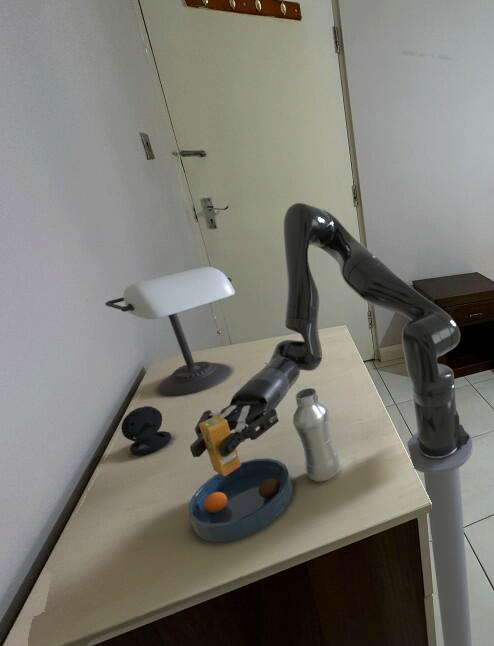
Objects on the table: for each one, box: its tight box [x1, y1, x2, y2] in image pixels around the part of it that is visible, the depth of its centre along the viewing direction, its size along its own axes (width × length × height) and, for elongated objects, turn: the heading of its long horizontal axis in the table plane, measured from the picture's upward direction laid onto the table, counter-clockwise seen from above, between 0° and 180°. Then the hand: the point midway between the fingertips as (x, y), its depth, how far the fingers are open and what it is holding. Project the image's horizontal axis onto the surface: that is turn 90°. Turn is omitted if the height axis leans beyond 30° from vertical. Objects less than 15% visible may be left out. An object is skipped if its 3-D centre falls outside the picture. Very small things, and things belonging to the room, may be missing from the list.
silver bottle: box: [292, 387, 341, 483], centre depth 79 cm, size 6×7×20 cm
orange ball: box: [204, 492, 227, 513], centre depth 74 cm, size 4×4×4 cm
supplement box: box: [199, 416, 241, 476], centre depth 69 cm, size 3×3×10 cm
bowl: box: [187, 457, 293, 544], centre depth 75 cm, size 16×16×4 cm
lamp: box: [105, 266, 236, 397], centre depth 112 cm, size 26×24×34 cm
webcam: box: [120, 405, 172, 456], centre depth 91 cm, size 8×8×10 cm
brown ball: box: [259, 478, 280, 499], centre depth 77 cm, size 4×4×4 cm
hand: (208, 452), depth 66 cm, fingers closed on supplement box, 4 cm apart
